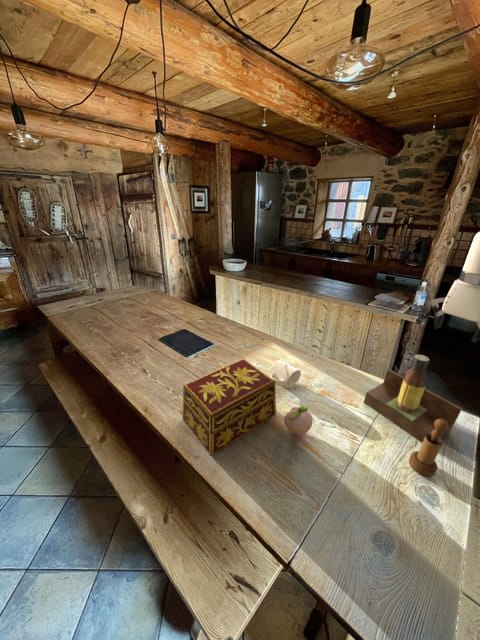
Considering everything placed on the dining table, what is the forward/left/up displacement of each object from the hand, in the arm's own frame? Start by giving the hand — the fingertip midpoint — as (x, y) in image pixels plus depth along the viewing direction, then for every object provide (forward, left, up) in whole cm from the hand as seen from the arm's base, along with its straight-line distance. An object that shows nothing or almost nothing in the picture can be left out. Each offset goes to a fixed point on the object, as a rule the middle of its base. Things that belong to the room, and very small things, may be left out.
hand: (455, 334), depth 79 cm
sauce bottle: (+4, +5, -29) cm, 30 cm away
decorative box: (+35, +57, -34) cm, 75 cm away
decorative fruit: (+18, +41, -34) cm, 57 cm away
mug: (+40, +29, -34) cm, 60 cm away
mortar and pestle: (-10, +19, -34) cm, 40 cm away
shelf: (+3, +4, -34) cm, 34 cm away
